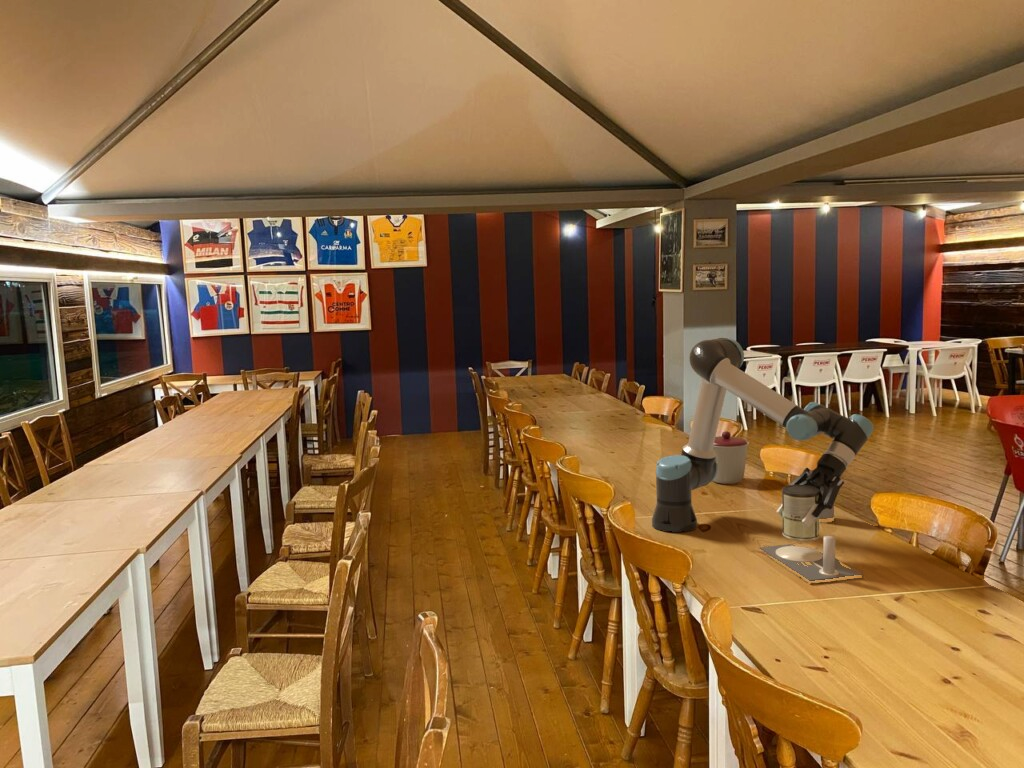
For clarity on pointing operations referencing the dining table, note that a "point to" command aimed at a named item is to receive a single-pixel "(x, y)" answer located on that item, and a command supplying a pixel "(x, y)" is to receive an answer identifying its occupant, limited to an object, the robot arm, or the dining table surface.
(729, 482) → the canister
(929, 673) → the dining table surface
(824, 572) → the pegged base plate
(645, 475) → the dining table surface
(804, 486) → the coffee can
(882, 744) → the dining table surface
